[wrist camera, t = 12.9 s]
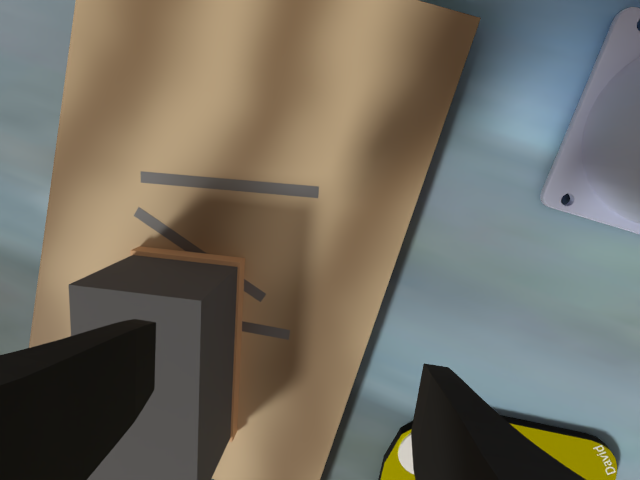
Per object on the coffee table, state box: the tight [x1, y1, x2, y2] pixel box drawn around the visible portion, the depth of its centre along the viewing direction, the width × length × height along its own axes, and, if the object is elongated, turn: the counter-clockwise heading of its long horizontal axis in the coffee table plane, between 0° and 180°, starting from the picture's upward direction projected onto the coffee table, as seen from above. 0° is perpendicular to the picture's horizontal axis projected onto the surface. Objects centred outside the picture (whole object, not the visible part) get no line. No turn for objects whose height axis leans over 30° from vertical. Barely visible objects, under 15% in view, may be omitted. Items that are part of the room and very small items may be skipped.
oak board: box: [29, 0, 481, 480], centre depth 20 cm, size 16×24×1 cm, turn 164°
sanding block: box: [69, 246, 245, 480], centre depth 18 cm, size 5×9×5 cm, turn 175°
